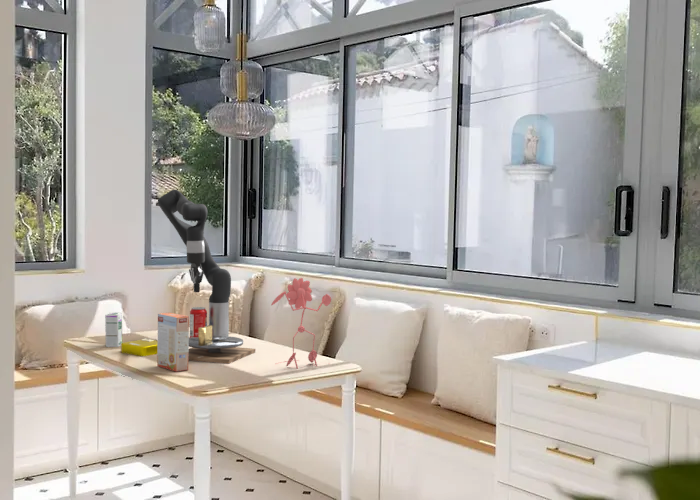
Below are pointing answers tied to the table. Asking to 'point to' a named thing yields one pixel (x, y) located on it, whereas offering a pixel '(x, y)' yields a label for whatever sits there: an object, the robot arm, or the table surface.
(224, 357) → the winch base
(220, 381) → the table surface
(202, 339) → the handwheel
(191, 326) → the soda can
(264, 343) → the table surface
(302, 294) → the figurine
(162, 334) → the cracker box
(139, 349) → the element tile
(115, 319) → the syrup box
